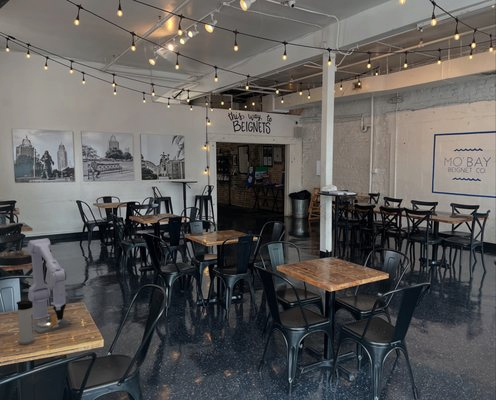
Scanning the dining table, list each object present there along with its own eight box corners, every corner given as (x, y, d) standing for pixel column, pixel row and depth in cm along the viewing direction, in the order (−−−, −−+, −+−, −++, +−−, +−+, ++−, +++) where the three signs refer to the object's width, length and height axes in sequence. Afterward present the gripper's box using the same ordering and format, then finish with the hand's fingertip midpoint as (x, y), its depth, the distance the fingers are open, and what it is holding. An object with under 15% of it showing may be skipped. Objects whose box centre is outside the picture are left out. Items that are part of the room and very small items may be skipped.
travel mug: (16, 342, 186) (14, 301, 184) (31, 338, 191) (29, 297, 189) (21, 346, 182) (19, 304, 180) (36, 341, 186) (34, 300, 185)
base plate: (26, 326, 205) (26, 320, 205) (58, 317, 217) (57, 312, 217) (39, 334, 195) (39, 328, 194) (71, 324, 207) (71, 319, 207)
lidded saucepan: (34, 323, 206) (33, 313, 205) (55, 317, 214) (55, 308, 213) (44, 330, 196) (43, 320, 196) (66, 324, 204) (66, 314, 204)
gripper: (52, 290, 208) (53, 315, 209) (48, 298, 194) (50, 325, 195) (66, 289, 210) (67, 313, 212) (64, 297, 197) (65, 323, 198)
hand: (60, 319), depth 204 cm, fingers closed
